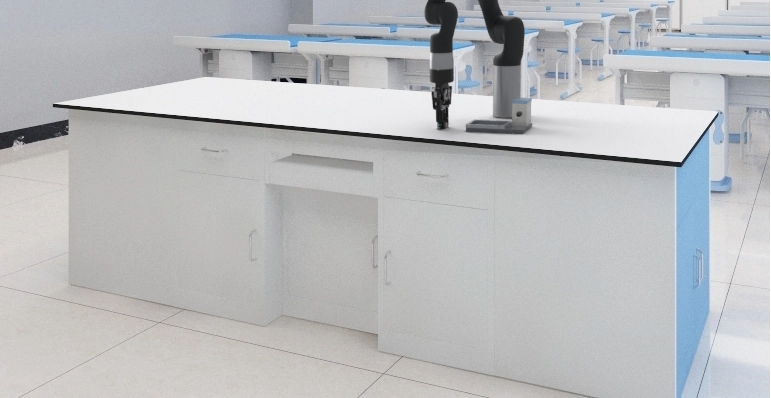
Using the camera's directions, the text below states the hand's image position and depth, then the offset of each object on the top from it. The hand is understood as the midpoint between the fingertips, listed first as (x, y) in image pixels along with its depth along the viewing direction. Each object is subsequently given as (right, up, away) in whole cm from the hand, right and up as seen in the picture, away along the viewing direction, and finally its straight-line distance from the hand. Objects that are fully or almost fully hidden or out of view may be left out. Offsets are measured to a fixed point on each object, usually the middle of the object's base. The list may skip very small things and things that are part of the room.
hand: (442, 120), depth 295 cm
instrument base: (+18, -3, -3) cm, 18 cm away
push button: (0, -3, 0) cm, 3 cm away
